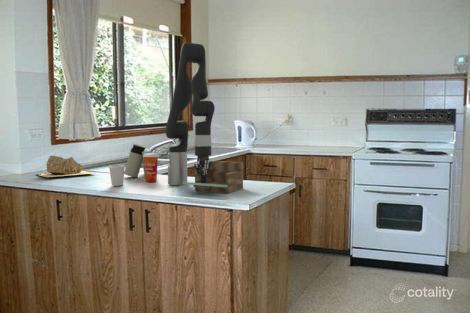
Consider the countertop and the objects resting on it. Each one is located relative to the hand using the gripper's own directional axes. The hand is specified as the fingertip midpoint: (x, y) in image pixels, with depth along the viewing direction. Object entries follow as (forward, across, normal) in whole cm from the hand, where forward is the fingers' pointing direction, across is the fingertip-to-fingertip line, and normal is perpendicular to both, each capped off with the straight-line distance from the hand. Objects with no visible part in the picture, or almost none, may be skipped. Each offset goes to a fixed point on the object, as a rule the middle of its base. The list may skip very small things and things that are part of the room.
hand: (203, 183), depth 228 cm
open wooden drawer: (+5, -16, 0) cm, 17 cm away
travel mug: (+3, -33, -65) cm, 73 cm away
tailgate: (+2, -7, 0) cm, 7 cm away
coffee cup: (+5, -27, -47) cm, 55 cm away
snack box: (+4, -42, -58) cm, 72 cm away
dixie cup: (+5, -9, -55) cm, 56 cm away
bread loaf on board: (+9, -26, -105) cm, 108 cm away
